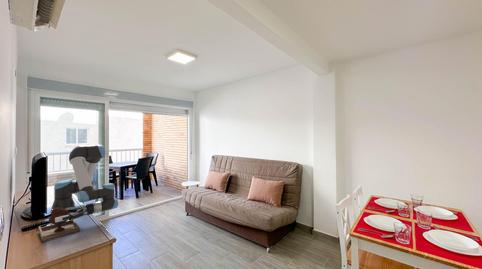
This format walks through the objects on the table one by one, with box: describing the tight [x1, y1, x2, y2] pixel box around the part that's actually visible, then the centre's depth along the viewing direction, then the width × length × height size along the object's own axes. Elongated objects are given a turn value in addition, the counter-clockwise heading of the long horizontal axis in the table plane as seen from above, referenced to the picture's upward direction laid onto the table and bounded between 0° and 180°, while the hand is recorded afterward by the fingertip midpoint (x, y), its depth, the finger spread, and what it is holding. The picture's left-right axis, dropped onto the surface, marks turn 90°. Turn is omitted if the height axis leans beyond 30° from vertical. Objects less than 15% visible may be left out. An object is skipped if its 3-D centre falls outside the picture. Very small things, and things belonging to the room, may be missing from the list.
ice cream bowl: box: [48, 207, 71, 232], centre depth 135 cm, size 11×11×15 cm
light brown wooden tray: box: [38, 219, 81, 243], centre depth 135 cm, size 18×18×3 cm
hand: (53, 217), depth 133 cm, fingers open, 13 cm apart
